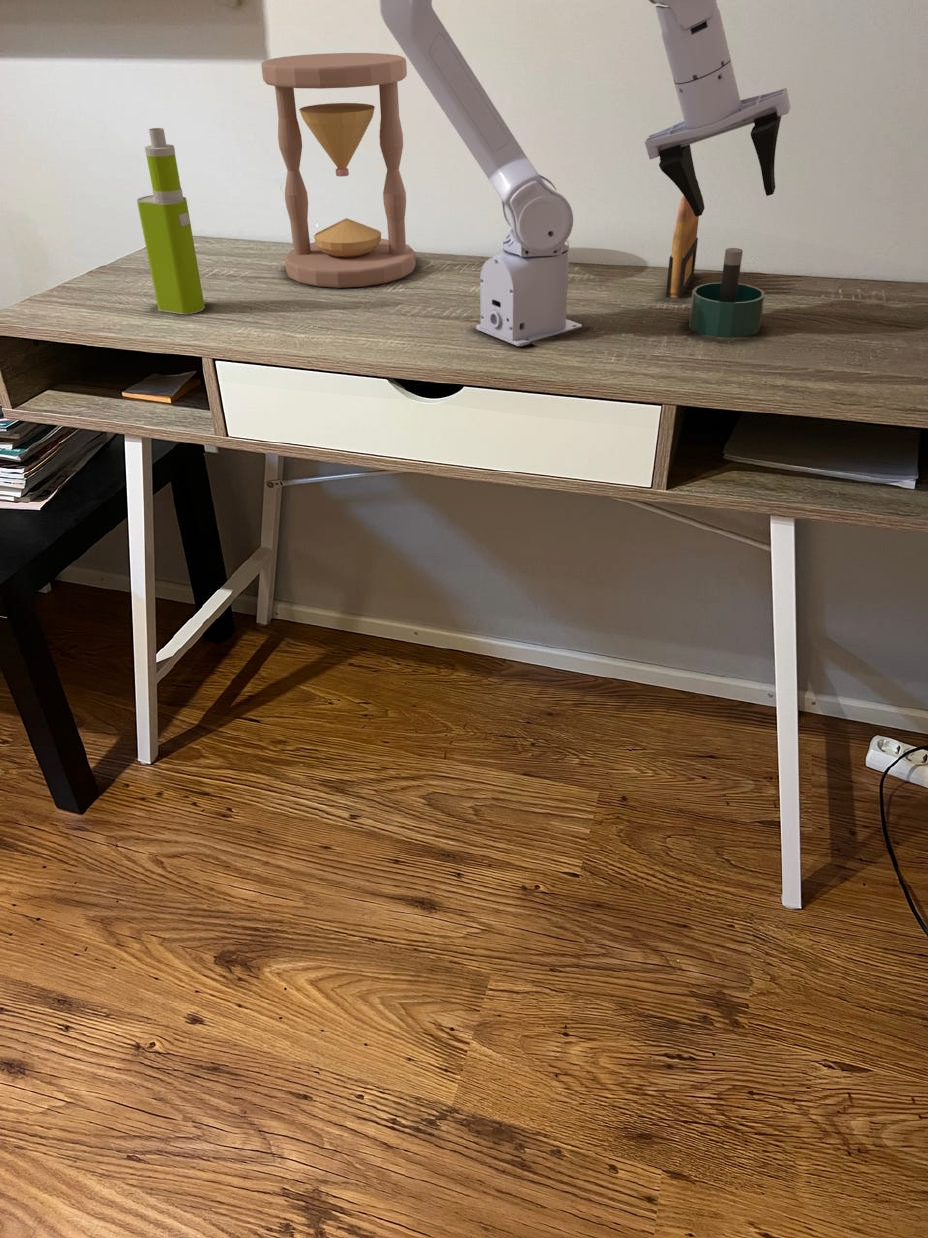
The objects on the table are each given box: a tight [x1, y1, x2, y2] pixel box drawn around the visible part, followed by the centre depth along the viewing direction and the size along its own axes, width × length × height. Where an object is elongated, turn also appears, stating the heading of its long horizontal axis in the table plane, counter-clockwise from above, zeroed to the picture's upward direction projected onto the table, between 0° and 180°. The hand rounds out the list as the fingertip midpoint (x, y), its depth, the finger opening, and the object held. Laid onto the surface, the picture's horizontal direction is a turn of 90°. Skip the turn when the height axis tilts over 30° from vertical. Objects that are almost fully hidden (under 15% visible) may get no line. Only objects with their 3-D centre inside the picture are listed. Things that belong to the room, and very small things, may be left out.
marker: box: [719, 247, 744, 302], centre depth 107 cm, size 2×2×8 cm
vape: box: [136, 127, 206, 315], centre depth 114 cm, size 4×6×20 cm, turn 64°
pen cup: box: [688, 282, 766, 339], centre depth 108 cm, size 8×8×4 cm
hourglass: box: [260, 52, 417, 289], centre depth 126 cm, size 18×18×25 cm
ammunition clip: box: [665, 180, 700, 299], centre depth 119 cm, size 11×2×12 cm, turn 160°
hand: (734, 202), depth 105 cm, fingers open, 7 cm apart
